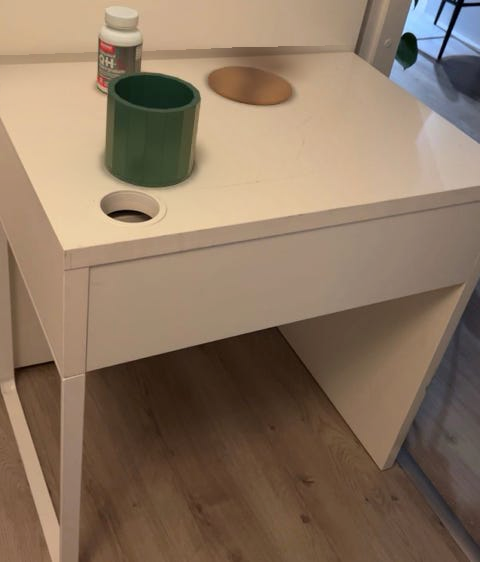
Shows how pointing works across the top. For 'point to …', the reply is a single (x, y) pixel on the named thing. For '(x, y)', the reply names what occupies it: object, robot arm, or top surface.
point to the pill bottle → (118, 45)
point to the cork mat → (249, 85)
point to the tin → (151, 128)
